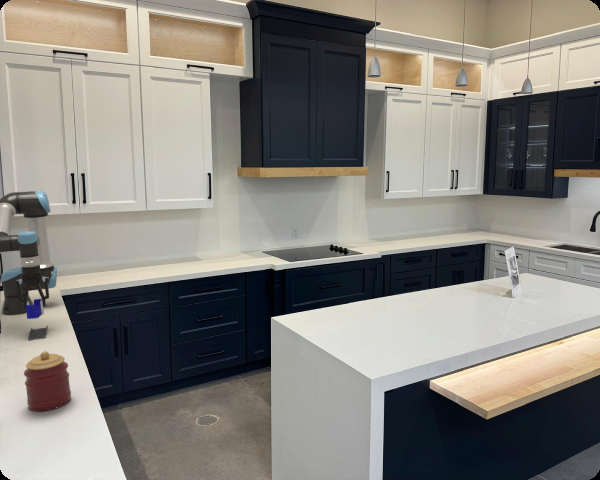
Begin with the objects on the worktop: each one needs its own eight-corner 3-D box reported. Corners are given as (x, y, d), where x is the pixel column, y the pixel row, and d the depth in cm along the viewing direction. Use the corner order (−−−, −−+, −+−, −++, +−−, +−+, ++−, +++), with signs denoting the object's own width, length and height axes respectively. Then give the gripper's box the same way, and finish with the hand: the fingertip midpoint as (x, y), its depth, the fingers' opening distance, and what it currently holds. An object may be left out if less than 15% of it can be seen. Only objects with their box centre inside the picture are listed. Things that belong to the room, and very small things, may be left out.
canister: (25, 415, 157) (19, 362, 154) (29, 398, 169) (23, 348, 166) (71, 406, 162) (65, 355, 159) (71, 390, 174) (66, 342, 171)
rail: (31, 330, 239) (31, 327, 239) (47, 328, 242) (47, 325, 242) (28, 340, 225) (28, 337, 225) (45, 338, 228) (45, 335, 228)
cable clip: (37, 318, 227) (36, 305, 226) (27, 319, 226) (25, 306, 225) (46, 310, 239) (45, 298, 238) (36, 311, 238) (34, 299, 237)
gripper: (6, 269, 222) (13, 319, 225) (51, 264, 229) (57, 314, 232) (9, 266, 229) (15, 315, 232) (52, 262, 235) (58, 309, 239)
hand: (36, 314), depth 232 cm, fingers closed on cable clip, 5 cm apart
